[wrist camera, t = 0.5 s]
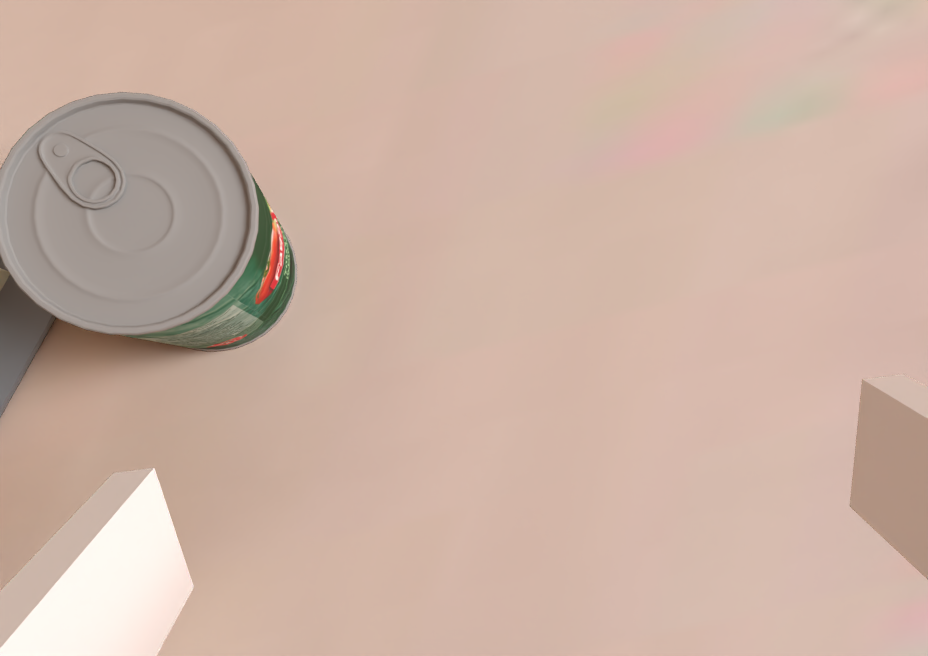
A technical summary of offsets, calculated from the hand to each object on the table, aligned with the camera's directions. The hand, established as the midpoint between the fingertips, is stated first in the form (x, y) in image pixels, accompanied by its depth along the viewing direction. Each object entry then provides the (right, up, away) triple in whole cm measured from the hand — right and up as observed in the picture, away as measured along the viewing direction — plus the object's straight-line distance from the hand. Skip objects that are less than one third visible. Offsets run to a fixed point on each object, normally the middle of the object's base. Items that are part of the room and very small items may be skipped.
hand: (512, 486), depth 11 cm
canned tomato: (-13, +6, +19) cm, 24 cm away
